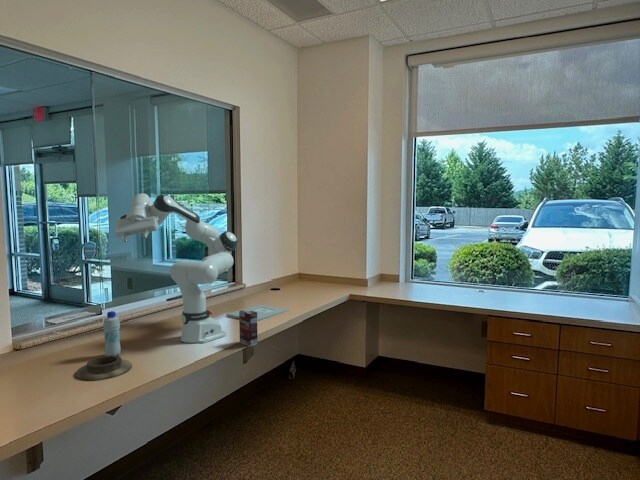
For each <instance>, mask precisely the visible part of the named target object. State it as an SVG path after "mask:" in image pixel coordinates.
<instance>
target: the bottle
mask: <svg viewBox="0 0 640 480" xmlns="http://www.w3.org/2000/svg"><path fill="white" fill-rule="evenodd" d="M116 313H117V312H116V311H114V310H113V311H108V312H107V315H106V316H107V317H106V318H103V319H104V320H103V327H102V328H103V331H104V356H111V355H114V356H119V355H120V354H121V351H122V350H121V349H122V348H121V342H120V329H121V324H120V323H121V321H120V318H119V317H118V316H116V315H117V314H116Z"/></svg>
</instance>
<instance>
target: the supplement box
mask: <svg viewBox="0 0 640 480" xmlns="http://www.w3.org/2000/svg"><path fill="white" fill-rule="evenodd" d="M245 309H246V308H245ZM241 310H242V309H241ZM238 311H239V310H238ZM238 320H239V322H238V323H239V343H240V344H243V345H246V346H248V347H253V346H256V345H258V323H257V312H254V311H250V310H247V309H246V310H242V311H239V319H238Z"/></svg>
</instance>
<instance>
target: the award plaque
mask: <svg viewBox="0 0 640 480" xmlns="http://www.w3.org/2000/svg"><path fill="white" fill-rule="evenodd" d="M246 309H247V310H250V311H254V312H257V321H261V320H263V319H267V318H270V317H272V316H275V315H278V314H281V313H284V312H287V311H289V312H290V309H288V308H281V307H278V306H277V307H276V306H270V305H264V304H257V305H254V306H251V307H246V308H242V309H239V310H236V311H231V312H228V313H226V316H228V317H227V318H230V317H233V318H232V319H235V318H238V319H237V320H239V311H242V310H246ZM270 319H271V318H270ZM267 320H268V319H267ZM261 322H262V321H261Z"/></svg>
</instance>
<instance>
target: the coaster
mask: <svg viewBox="0 0 640 480" xmlns="http://www.w3.org/2000/svg"><path fill="white" fill-rule="evenodd" d="M132 367H133V363H132V362H131V361H130V360H127V359H123V358H122V357H121V356H119V355H118V356H117V355H116V356H114V355H111V356H106V355H102V356H98V357H94V358H92V359H89V360H88V361H87V363H86V365H85V364H84V365H83V366H81V367H79V368H78V369H77V370H76V372H75V377H76V379H79V380H81V381H89V382H91V381H92V382H93V381H104V380H107V379H109V380H110V379H113V378H116V377H120V376H122V375H124V374H126V373H128V372H129V371H130V370H131V369H132Z"/></svg>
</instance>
